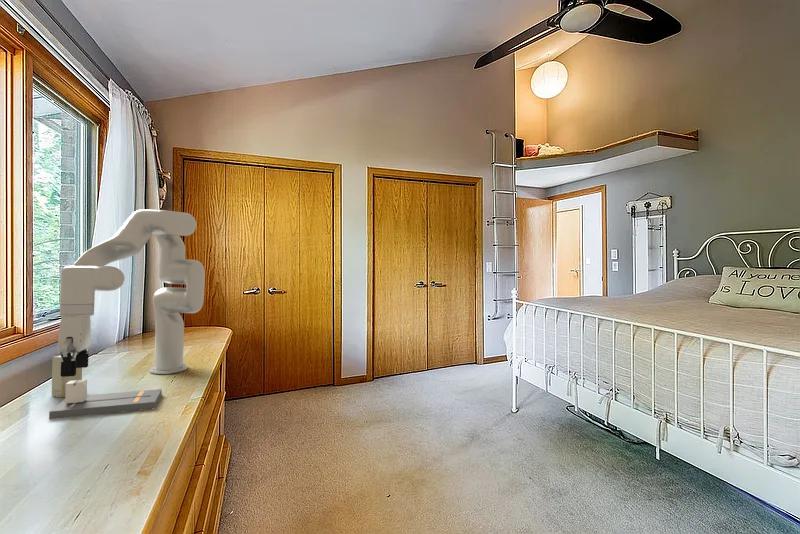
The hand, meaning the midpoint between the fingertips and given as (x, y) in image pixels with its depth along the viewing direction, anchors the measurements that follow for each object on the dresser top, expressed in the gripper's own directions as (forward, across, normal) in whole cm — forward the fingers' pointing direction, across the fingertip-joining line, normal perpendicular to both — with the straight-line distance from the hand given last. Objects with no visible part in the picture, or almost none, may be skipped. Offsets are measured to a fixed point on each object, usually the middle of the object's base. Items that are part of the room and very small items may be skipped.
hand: (74, 371), depth 112 cm
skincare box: (+11, -17, -7) cm, 21 cm away
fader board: (+11, -1, +8) cm, 14 cm away
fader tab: (+8, -1, 0) cm, 8 cm away
